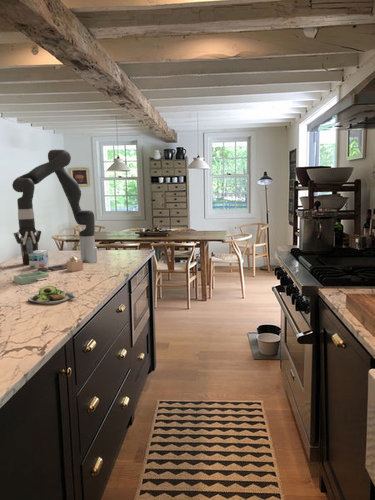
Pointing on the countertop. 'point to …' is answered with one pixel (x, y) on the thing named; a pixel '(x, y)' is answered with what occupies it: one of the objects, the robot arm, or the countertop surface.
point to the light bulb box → (38, 258)
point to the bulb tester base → (51, 269)
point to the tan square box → (75, 265)
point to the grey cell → (29, 246)
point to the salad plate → (51, 296)
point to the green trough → (26, 279)
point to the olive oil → (25, 256)
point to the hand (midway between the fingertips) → (29, 251)
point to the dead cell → (73, 259)
